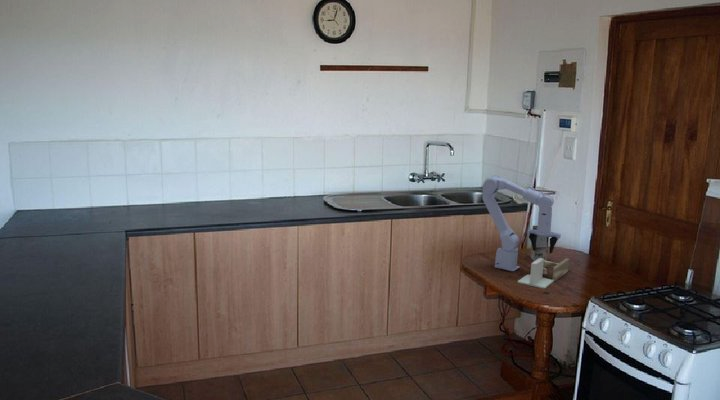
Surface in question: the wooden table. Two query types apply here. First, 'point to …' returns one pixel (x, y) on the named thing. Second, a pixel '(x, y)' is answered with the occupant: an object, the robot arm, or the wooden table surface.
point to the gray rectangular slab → (536, 270)
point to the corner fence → (558, 268)
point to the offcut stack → (544, 270)
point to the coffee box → (540, 247)
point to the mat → (541, 283)
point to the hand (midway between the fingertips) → (542, 251)
